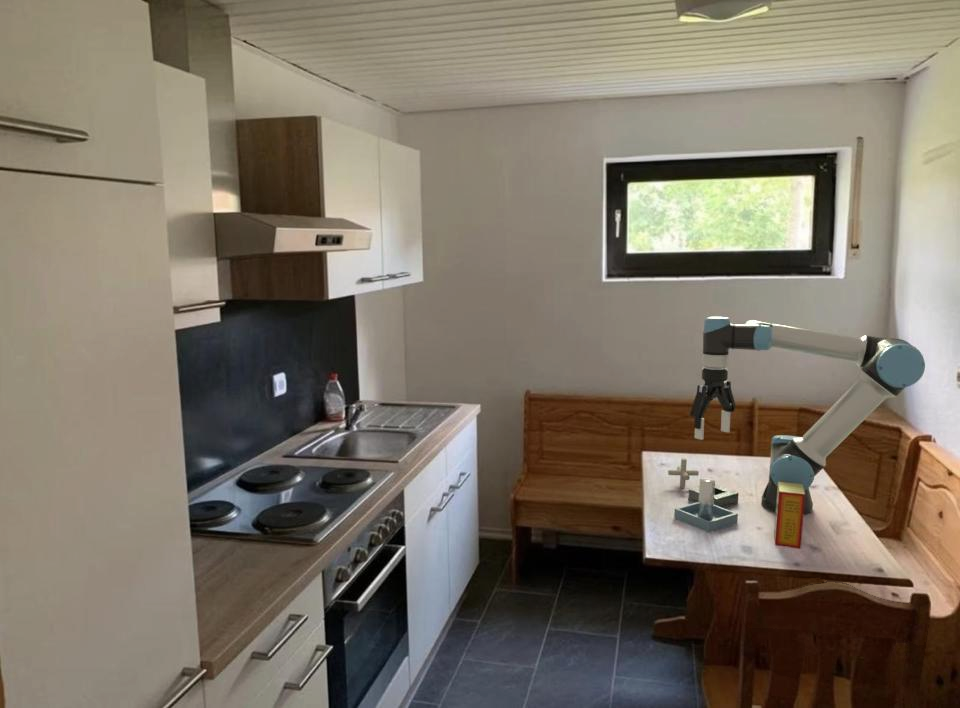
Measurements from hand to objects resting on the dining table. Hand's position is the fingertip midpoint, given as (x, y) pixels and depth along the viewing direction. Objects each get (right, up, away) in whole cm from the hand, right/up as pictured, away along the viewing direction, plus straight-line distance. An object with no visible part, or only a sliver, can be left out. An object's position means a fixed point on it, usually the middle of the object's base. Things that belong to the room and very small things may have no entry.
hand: (712, 435), depth 224 cm
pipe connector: (-2, -21, +25) cm, 33 cm away
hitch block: (+4, -23, +12) cm, 26 cm away
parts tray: (-4, -25, -5) cm, 26 cm away
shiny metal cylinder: (-4, -25, -5) cm, 25 cm away
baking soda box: (+15, -28, -19) cm, 37 cm away
